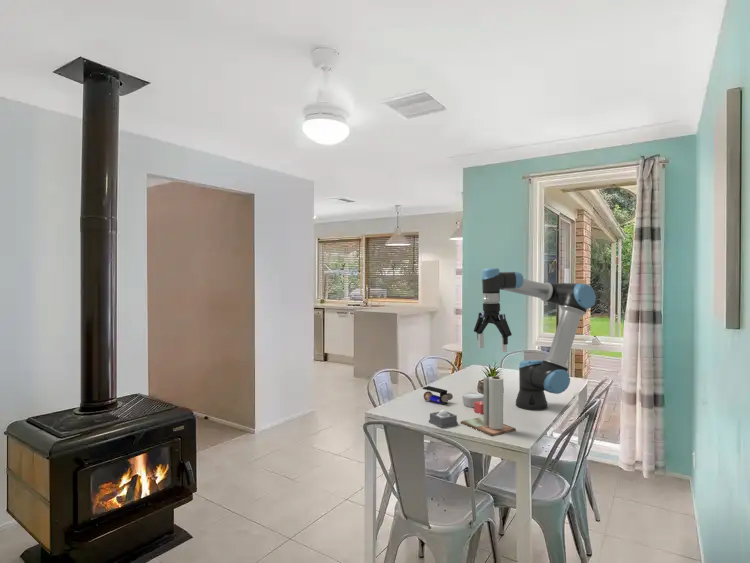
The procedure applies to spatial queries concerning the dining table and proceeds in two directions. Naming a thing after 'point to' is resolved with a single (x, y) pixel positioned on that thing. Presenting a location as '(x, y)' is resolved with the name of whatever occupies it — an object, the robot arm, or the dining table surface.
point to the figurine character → (442, 398)
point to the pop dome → (443, 413)
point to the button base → (443, 420)
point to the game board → (479, 425)
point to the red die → (479, 407)
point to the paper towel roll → (493, 402)
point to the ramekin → (472, 398)
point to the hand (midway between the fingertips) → (492, 349)
